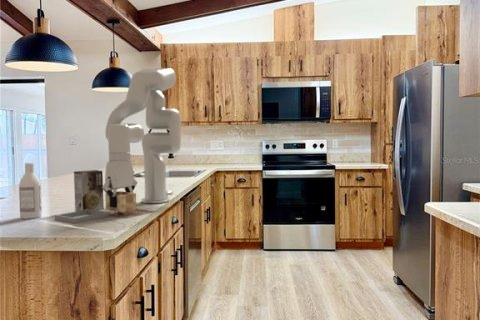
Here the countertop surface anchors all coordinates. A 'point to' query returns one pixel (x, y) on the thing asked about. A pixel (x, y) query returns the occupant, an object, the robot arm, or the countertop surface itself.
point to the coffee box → (88, 190)
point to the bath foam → (30, 194)
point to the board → (131, 213)
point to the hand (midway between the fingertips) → (121, 205)
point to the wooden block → (122, 201)
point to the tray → (69, 217)
